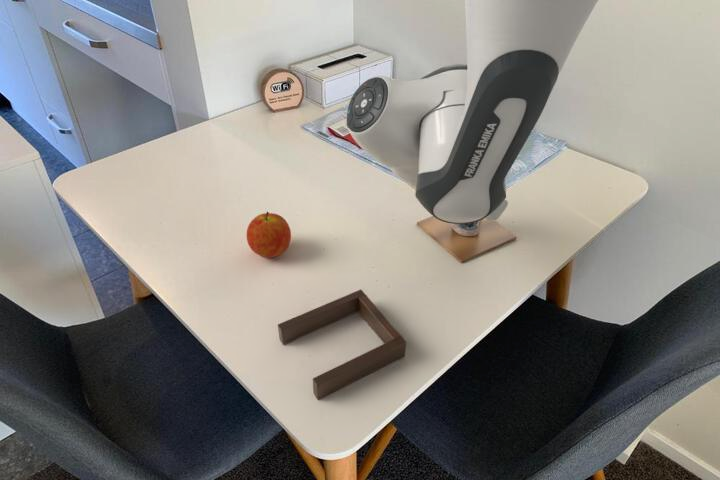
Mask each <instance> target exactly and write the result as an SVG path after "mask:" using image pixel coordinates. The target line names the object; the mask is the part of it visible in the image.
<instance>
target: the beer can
mask: <svg viewBox="0 0 720 480" xmlns="http://www.w3.org/2000/svg"><path fill="white" fill-rule="evenodd" d="M482 220H483V219H482ZM482 220H480V221H477V222H473V223H466V224H453V225H452V226H453V229H454V230H455V231H456V232H457V233H459V234H461V235H464V236H472V235H476V234H478V233H479V232H480V230H481V225H482Z"/></svg>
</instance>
